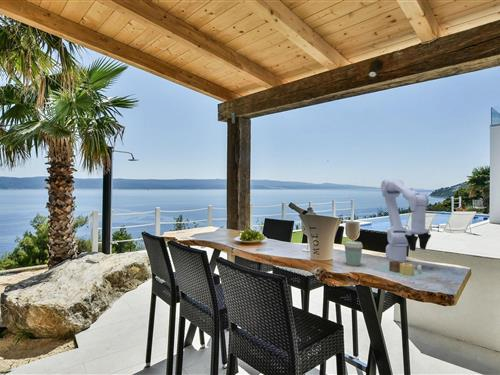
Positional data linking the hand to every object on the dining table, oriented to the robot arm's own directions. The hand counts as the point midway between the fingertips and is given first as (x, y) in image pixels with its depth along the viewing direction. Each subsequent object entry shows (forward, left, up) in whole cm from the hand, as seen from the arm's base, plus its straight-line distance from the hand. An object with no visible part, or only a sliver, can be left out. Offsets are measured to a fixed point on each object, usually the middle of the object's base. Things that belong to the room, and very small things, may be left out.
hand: (417, 249), depth 141 cm
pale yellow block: (+5, -15, -8) cm, 18 cm away
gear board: (0, -13, -10) cm, 16 cm away
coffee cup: (-18, -23, -10) cm, 31 cm away
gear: (-1, -15, -8) cm, 17 cm away
